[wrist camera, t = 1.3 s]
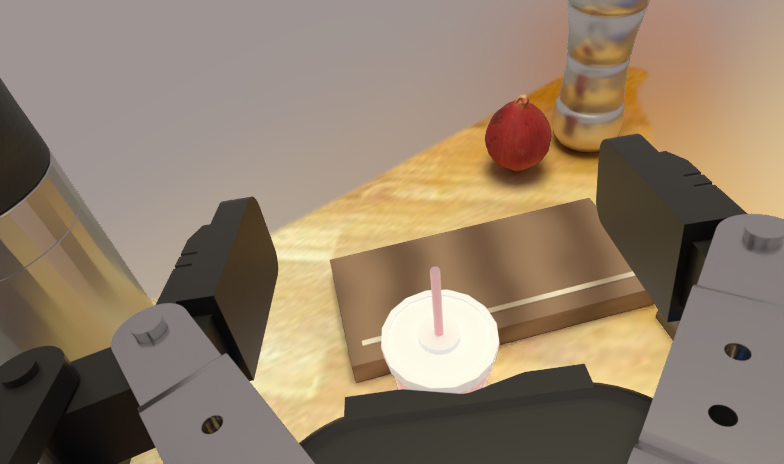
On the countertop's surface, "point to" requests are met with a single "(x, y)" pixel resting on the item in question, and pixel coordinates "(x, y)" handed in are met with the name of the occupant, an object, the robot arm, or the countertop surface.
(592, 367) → the countertop surface
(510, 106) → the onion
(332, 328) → the countertop surface
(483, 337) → the beverage cup
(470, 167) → the countertop surface
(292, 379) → the countertop surface
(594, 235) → the walnut board
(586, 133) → the plastic bottle
